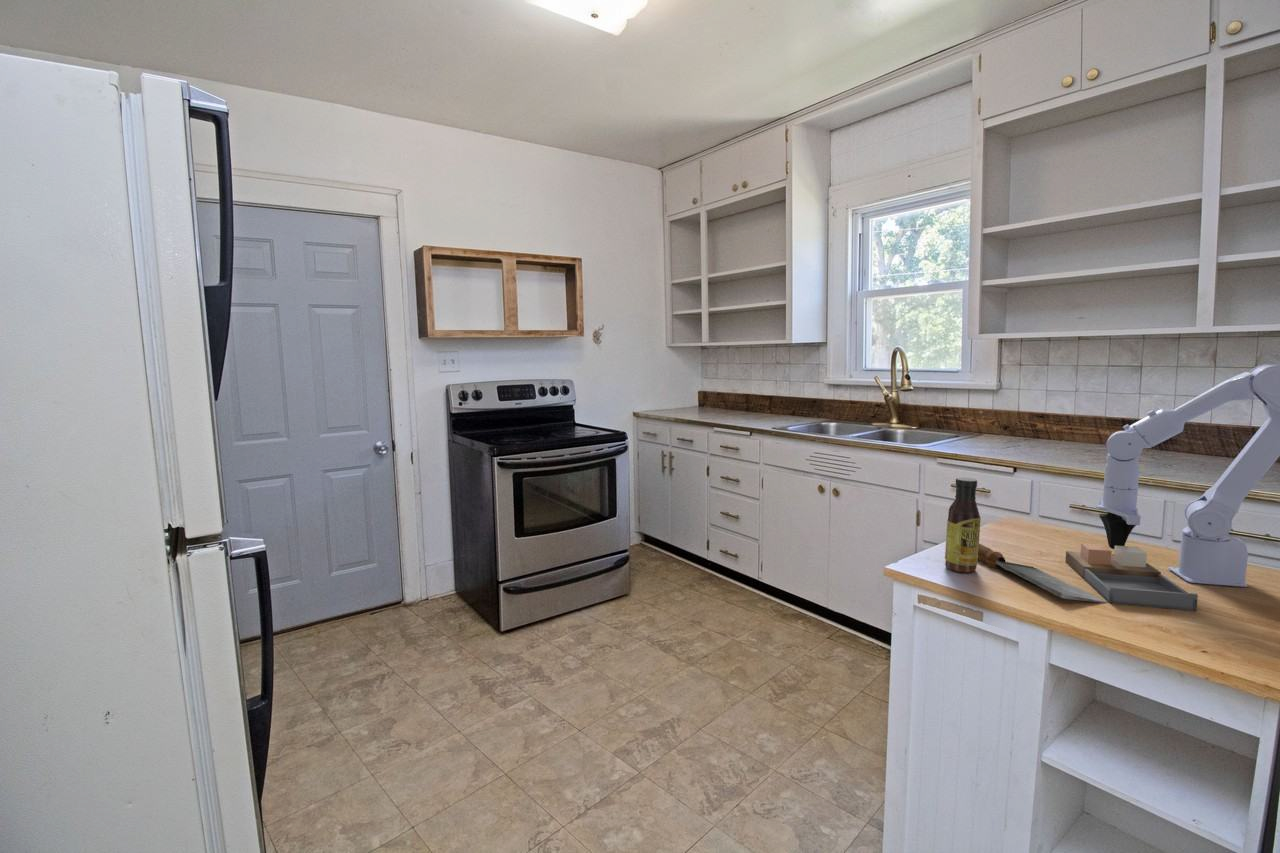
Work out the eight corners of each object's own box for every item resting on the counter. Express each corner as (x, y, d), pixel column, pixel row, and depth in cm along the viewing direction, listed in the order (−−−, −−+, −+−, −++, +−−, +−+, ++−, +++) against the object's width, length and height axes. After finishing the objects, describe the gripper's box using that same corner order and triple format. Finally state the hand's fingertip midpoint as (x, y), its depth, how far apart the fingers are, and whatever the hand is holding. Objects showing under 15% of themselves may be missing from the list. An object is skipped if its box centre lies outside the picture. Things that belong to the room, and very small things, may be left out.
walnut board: (1136, 567, 129) (1136, 555, 129) (1159, 584, 120) (1161, 572, 119) (1065, 562, 133) (1066, 551, 133) (1083, 578, 123) (1083, 566, 123)
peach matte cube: (1102, 558, 128) (1103, 544, 127) (1110, 564, 124) (1111, 550, 123) (1080, 556, 129) (1081, 543, 128) (1087, 563, 125) (1088, 549, 125)
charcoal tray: (1160, 585, 119) (1162, 570, 119) (1196, 611, 108) (1197, 595, 107) (1083, 579, 123) (1084, 564, 123) (1109, 603, 111) (1111, 587, 111)
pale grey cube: (1136, 560, 126) (1137, 547, 125) (1145, 567, 122) (1146, 553, 122) (1113, 559, 127) (1114, 545, 127) (1122, 565, 123) (1123, 551, 123)
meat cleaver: (1117, 604, 112) (1118, 583, 112) (1061, 607, 111) (1062, 587, 111) (994, 548, 145) (994, 531, 145) (949, 550, 144) (950, 534, 144)
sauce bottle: (962, 576, 126) (966, 483, 124) (937, 566, 132) (941, 477, 130) (984, 571, 129) (989, 480, 126) (959, 562, 134) (963, 475, 132)
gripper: (1085, 479, 137) (1081, 536, 139) (1113, 493, 123) (1108, 557, 125) (1122, 480, 135) (1117, 539, 136) (1154, 495, 121) (1149, 560, 123)
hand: (1115, 548), depth 131 cm, fingers closed
